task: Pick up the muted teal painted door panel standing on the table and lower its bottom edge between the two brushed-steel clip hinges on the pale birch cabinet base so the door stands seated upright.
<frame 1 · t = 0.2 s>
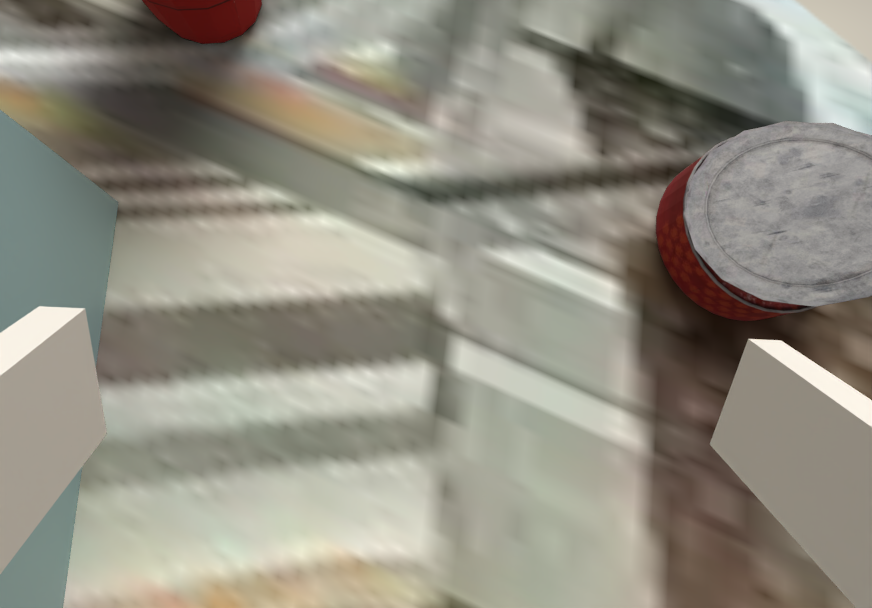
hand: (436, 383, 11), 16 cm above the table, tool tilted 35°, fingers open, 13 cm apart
door: (57, 403, 25), on the table
canned food: (731, 239, 31), on the table
plastic cup: (214, 3, 29), on the table
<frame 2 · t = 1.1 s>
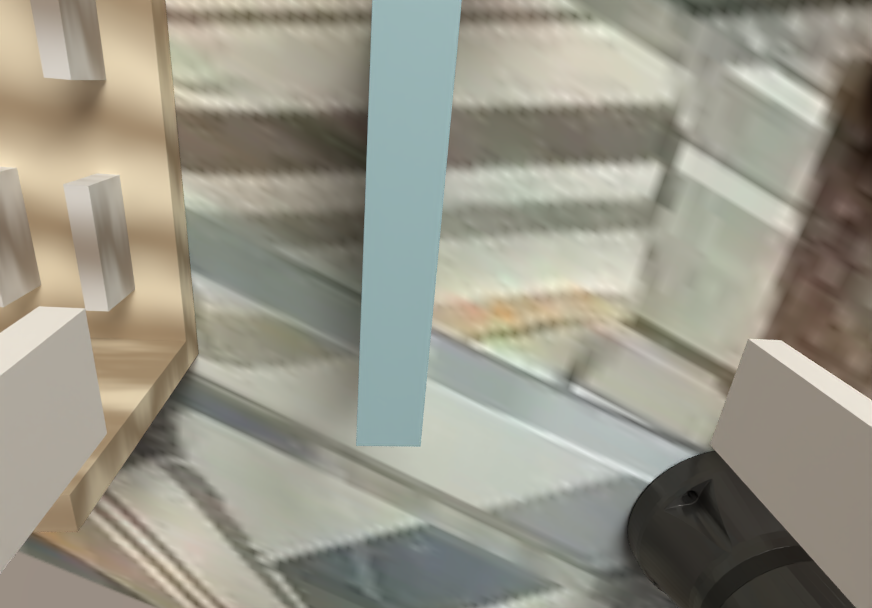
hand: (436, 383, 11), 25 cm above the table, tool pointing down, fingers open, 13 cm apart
hinge base: (68, 121, 31), on the table
door: (394, 179, 34), on the table
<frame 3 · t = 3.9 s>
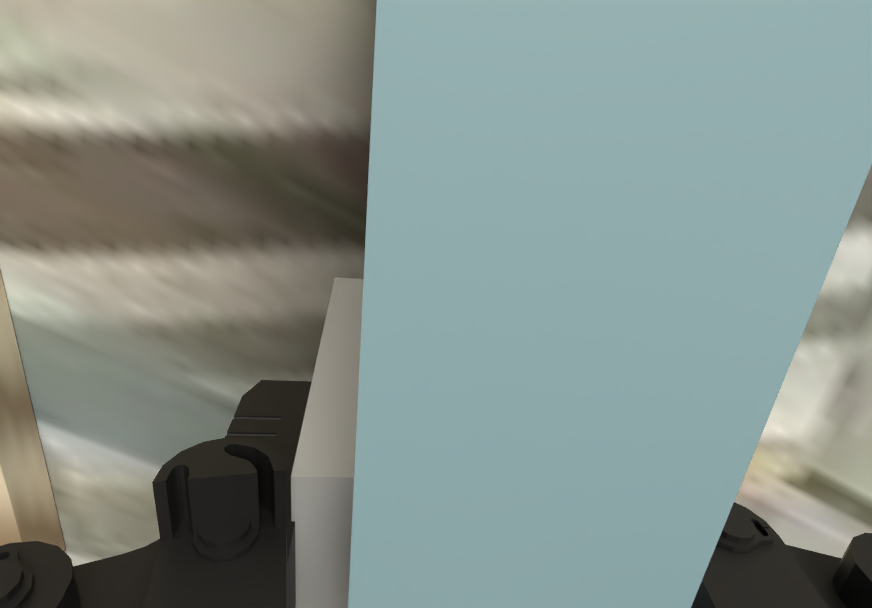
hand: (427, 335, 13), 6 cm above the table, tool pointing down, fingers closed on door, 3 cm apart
door: (413, 261, 18), on the table, touching gripper
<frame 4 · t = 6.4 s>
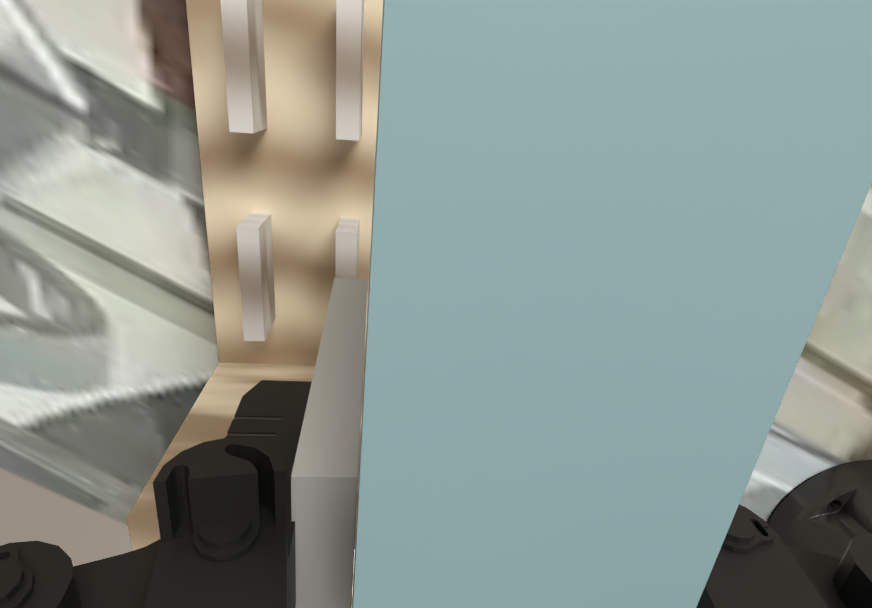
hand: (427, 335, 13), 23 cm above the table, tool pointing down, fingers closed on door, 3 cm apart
hinge base: (309, 169, 34), on the table
door: (414, 259, 18), point 18 cm above the table, touching gripper
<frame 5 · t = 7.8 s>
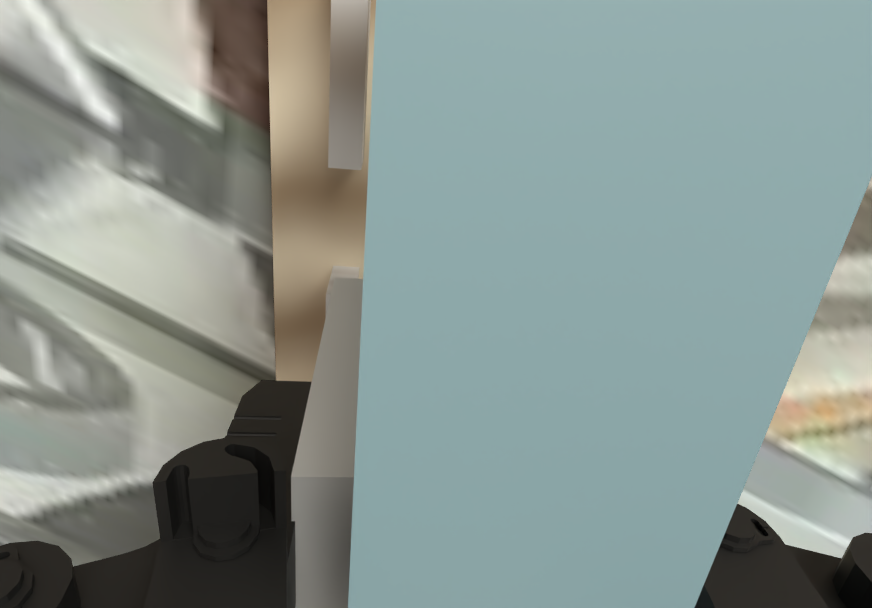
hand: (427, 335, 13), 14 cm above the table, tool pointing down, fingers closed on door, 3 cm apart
hinge base: (406, 207, 26), on the table
door: (413, 259, 18), point 9 cm above the table, touching gripper
when the fingers open (9 cm above the table, at t = 9.0 s): door drops 1 cm, resting on hinge base.
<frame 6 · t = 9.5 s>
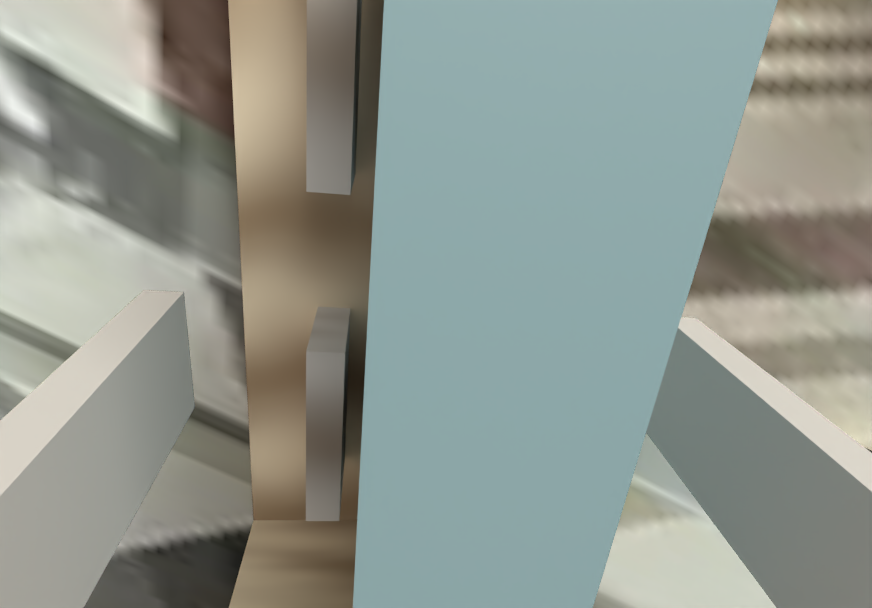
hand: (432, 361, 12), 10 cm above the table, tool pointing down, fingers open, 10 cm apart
hinge base: (408, 233, 21), on the table
door: (413, 247, 19), point 2 cm above the table, touching hinge base
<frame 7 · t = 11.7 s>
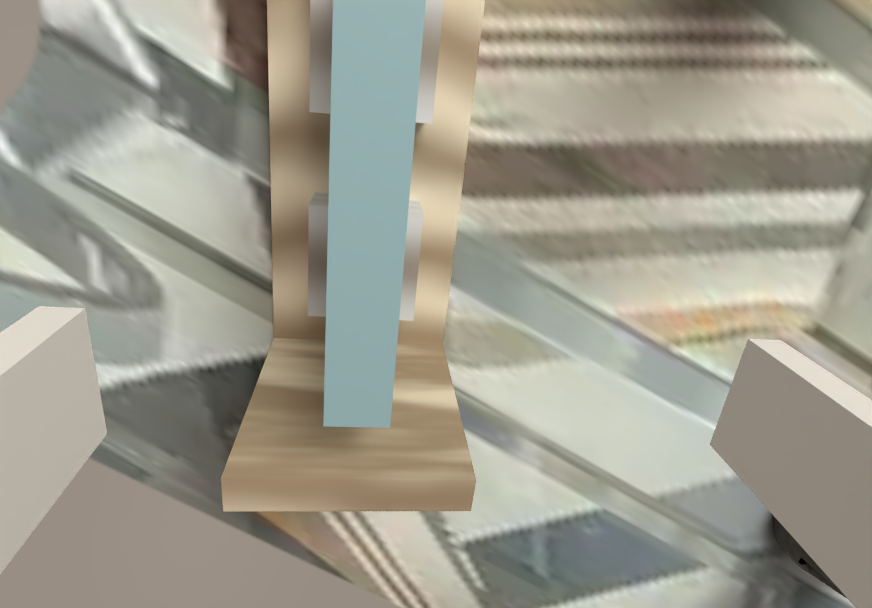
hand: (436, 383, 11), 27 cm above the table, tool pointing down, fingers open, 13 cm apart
hinge base: (370, 151, 35), on the table
door: (371, 155, 33), point 2 cm above the table, touching hinge base
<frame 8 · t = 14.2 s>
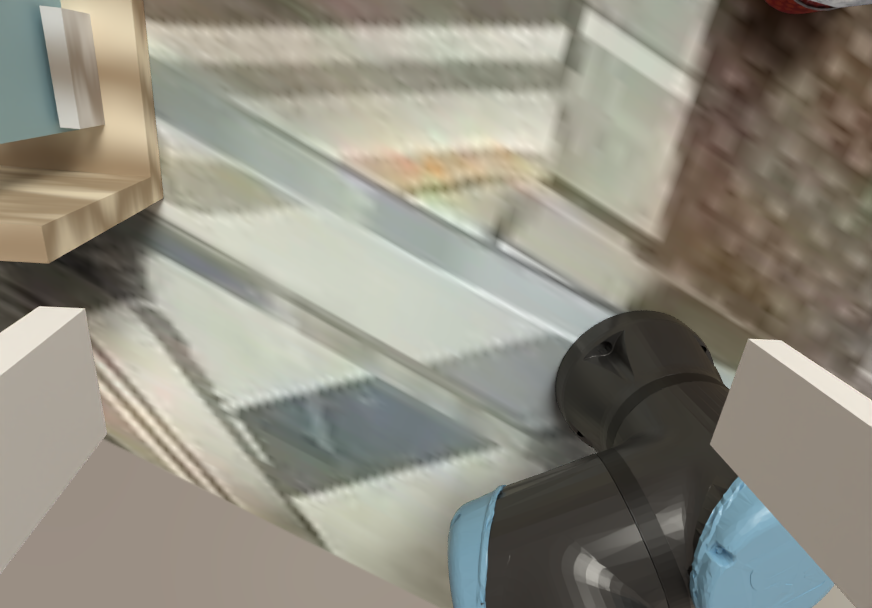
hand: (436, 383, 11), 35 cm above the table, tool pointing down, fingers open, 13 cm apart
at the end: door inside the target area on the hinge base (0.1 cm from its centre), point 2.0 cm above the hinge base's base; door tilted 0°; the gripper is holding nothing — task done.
